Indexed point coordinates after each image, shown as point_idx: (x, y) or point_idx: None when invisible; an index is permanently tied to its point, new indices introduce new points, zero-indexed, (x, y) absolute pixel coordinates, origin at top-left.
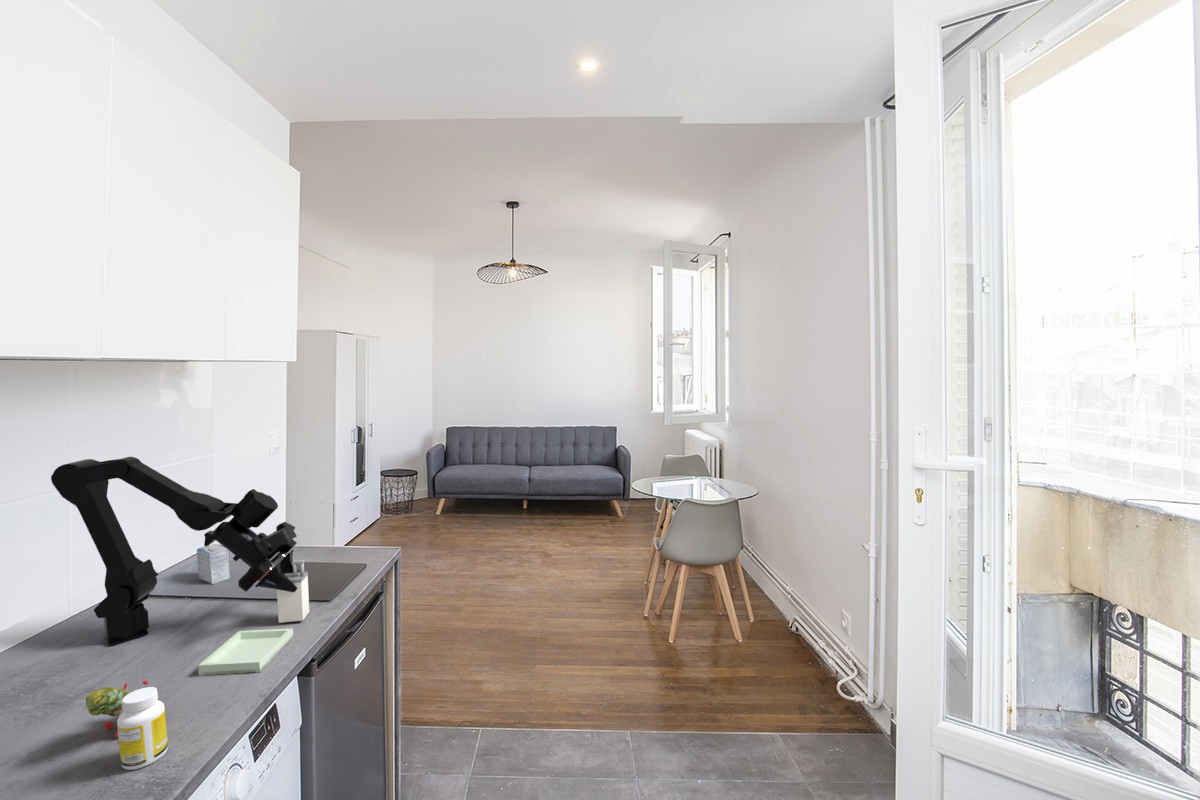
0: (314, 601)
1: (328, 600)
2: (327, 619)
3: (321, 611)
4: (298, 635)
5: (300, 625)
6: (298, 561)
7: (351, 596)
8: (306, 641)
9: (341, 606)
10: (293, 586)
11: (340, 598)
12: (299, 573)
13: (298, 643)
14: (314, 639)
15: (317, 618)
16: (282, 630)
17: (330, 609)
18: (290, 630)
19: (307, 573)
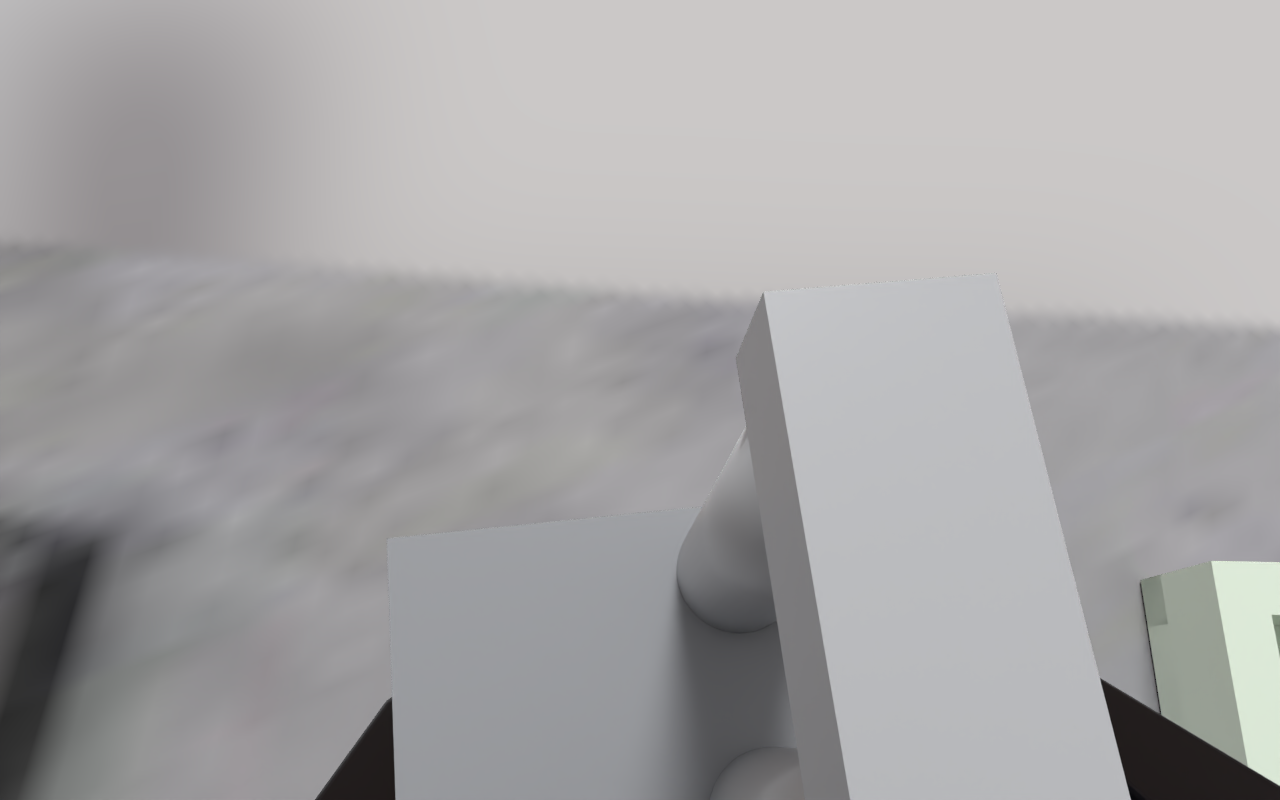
0: (29, 786)
1: (56, 572)
2: (686, 362)
3: (433, 528)
4: (1083, 543)
5: None
6: (1060, 552)
7: (7, 297)
8: (1208, 390)
9: (323, 321)
10: None
11: (33, 423)
12: (497, 785)
13: (1257, 459)
14: (1160, 324)
15: (644, 497)
16: (1277, 683)
17: (390, 430)
18: (1262, 569)
19: (429, 544)
